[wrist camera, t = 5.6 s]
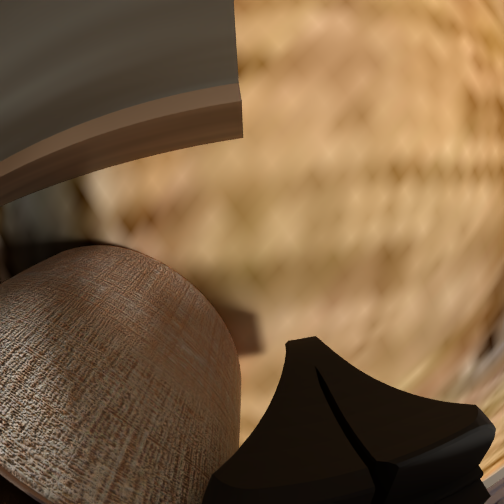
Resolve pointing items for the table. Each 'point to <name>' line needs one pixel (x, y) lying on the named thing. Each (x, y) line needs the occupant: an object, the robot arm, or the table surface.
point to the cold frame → (111, 85)
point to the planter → (112, 383)
